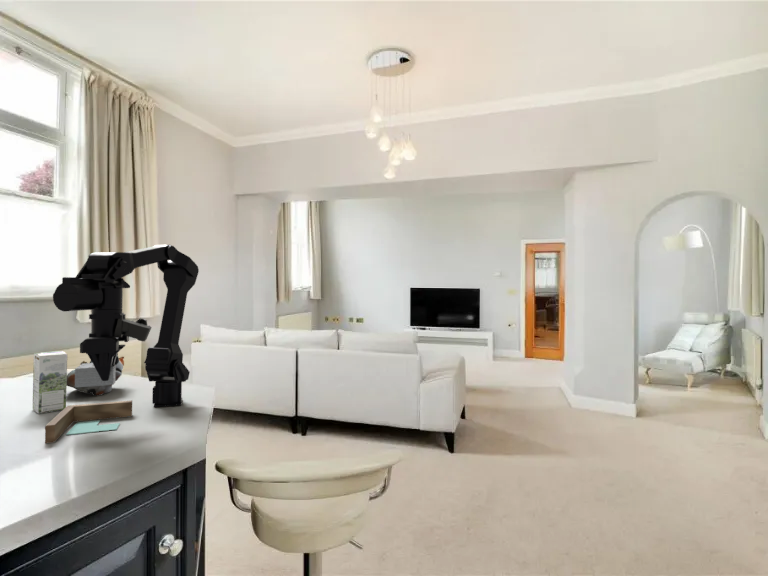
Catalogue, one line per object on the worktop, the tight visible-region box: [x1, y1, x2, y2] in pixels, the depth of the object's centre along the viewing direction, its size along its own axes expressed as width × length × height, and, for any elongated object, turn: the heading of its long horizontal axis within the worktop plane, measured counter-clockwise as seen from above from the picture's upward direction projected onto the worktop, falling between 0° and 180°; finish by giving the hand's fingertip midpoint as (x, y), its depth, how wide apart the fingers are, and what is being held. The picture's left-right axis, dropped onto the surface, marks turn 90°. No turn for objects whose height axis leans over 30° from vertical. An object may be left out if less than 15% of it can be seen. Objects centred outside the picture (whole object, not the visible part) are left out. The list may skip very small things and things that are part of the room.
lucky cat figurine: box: [67, 352, 125, 397], centre depth 125 cm, size 15×12×14 cm
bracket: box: [74, 362, 116, 387], centre depth 94 cm, size 7×6×4 cm
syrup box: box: [32, 350, 68, 415], centre depth 106 cm, size 6×6×14 cm
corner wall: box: [44, 399, 133, 444], centre depth 93 cm, size 13×16×4 cm
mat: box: [65, 419, 121, 436], centre depth 94 cm, size 9×8×1 cm
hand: (106, 379), depth 93 cm, fingers closed on bracket, 2 cm apart
